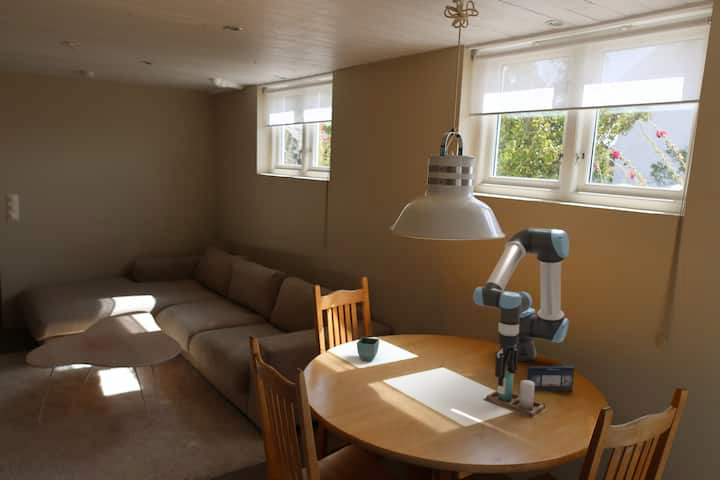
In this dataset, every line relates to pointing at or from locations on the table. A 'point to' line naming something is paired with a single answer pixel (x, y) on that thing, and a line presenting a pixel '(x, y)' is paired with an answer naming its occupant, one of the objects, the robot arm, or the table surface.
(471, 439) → the table surface
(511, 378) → the teal rounded cylinder
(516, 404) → the rack
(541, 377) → the vhs cassette tape
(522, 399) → the white cylinder
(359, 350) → the flower pot
